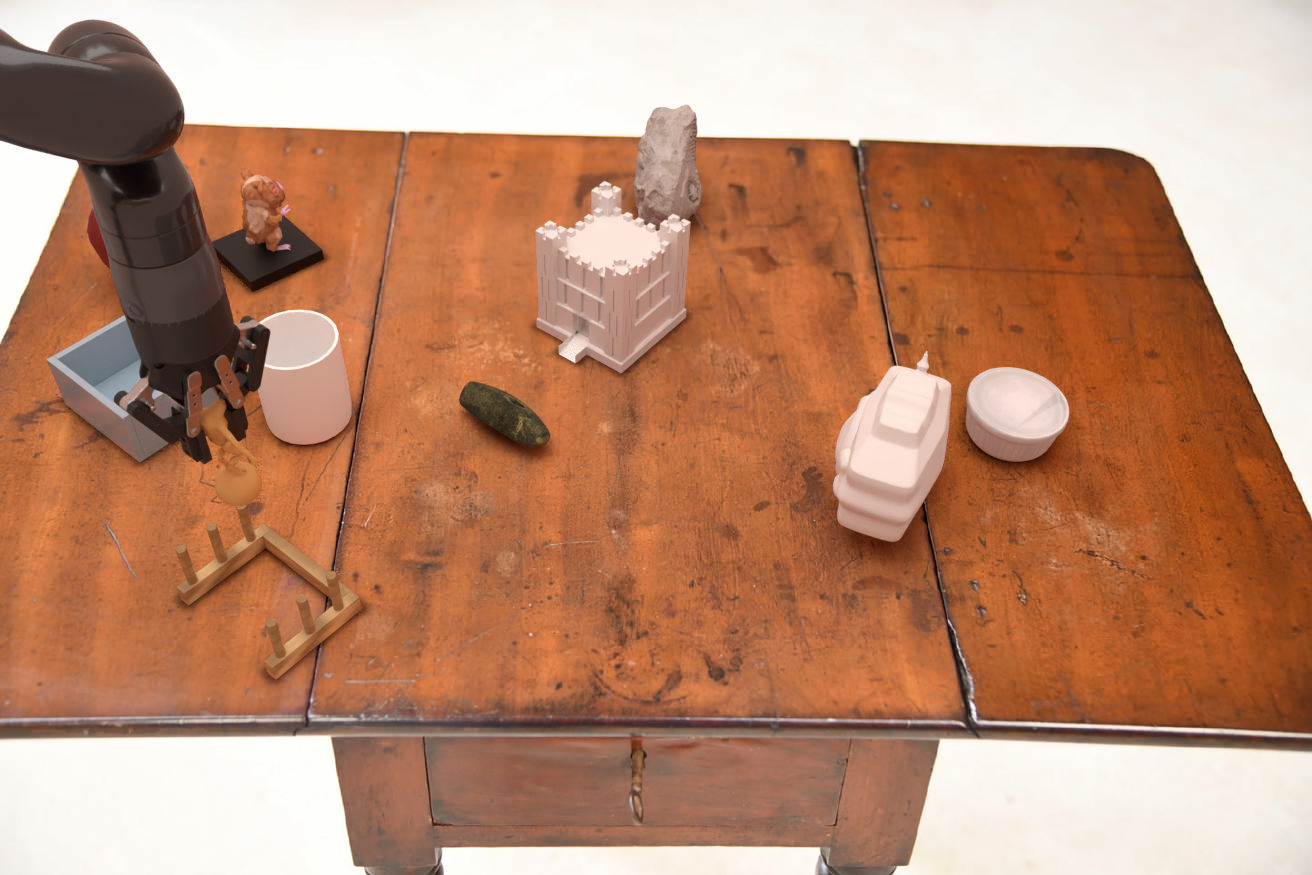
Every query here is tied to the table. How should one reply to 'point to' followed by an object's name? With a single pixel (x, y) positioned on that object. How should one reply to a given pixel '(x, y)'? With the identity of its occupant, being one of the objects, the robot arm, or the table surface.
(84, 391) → the light blue open box
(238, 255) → the figurine
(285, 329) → the mug
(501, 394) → the decorative stone
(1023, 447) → the ramekin
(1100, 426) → the table surface
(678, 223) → the castle model
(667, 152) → the fossil
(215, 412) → the figurine
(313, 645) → the drying rack
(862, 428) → the white tiered block
